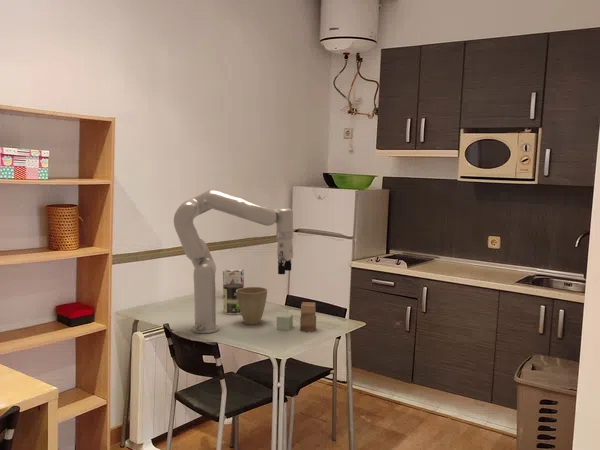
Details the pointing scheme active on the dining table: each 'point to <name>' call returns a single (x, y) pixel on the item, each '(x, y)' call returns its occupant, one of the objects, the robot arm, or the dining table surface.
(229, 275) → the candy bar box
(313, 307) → the tower block
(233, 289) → the coffee can
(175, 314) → the dining table surface
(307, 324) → the tower base block
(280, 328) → the sage block
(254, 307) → the plant pot
